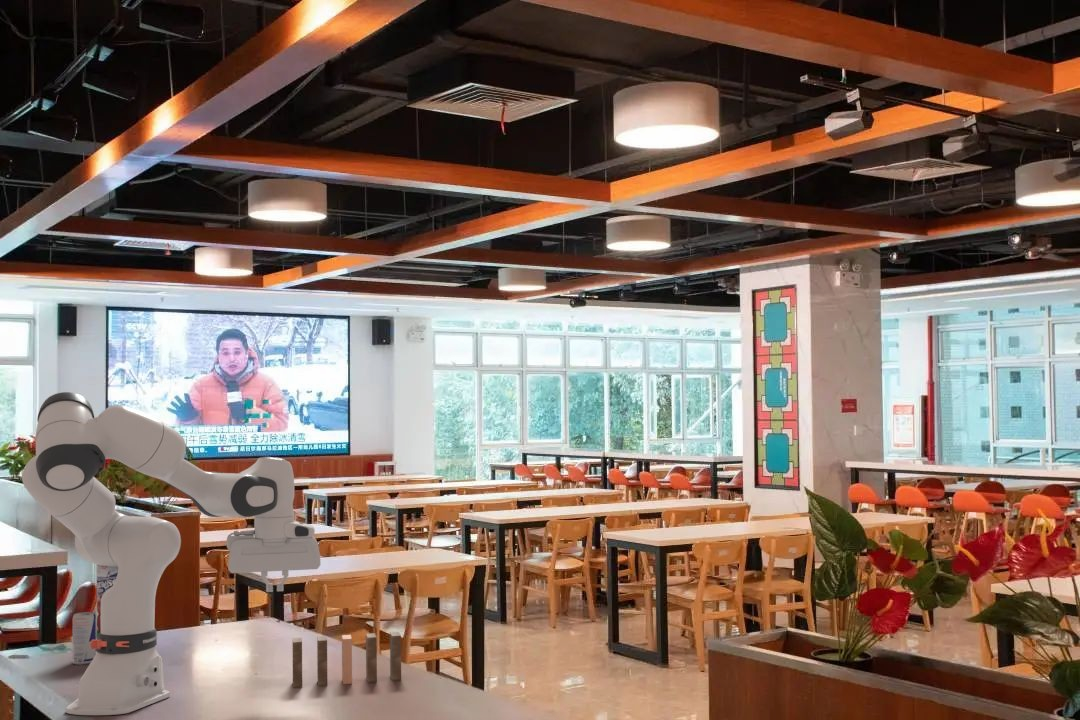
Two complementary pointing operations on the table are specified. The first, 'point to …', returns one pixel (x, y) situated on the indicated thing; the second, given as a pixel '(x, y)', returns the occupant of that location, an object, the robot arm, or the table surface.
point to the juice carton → (104, 587)
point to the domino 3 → (346, 659)
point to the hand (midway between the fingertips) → (274, 591)
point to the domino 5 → (395, 656)
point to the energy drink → (83, 637)
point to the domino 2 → (322, 660)
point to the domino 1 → (297, 662)
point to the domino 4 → (371, 657)
